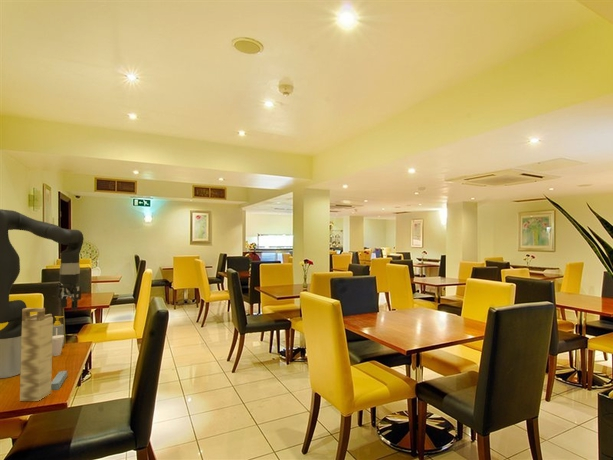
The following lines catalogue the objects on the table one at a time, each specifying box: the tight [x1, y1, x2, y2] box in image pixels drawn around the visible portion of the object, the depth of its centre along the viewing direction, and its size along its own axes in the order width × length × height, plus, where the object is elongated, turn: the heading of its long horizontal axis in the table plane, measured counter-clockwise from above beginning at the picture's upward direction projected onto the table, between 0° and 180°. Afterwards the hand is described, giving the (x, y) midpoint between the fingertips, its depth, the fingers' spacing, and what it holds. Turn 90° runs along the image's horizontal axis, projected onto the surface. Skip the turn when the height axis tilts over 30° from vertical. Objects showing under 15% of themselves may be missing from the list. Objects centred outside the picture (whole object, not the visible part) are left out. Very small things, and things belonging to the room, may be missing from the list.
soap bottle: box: [52, 315, 65, 349], centre depth 191 cm, size 7×7×18 cm
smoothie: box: [52, 328, 65, 357], centre depth 180 cm, size 6×6×14 cm
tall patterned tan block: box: [19, 307, 54, 402], centre depth 132 cm, size 7×6×35 cm
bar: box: [51, 370, 68, 391], centre depth 144 cm, size 3×14×3 cm, turn 24°
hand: (69, 308), depth 154 cm, fingers open, 8 cm apart
